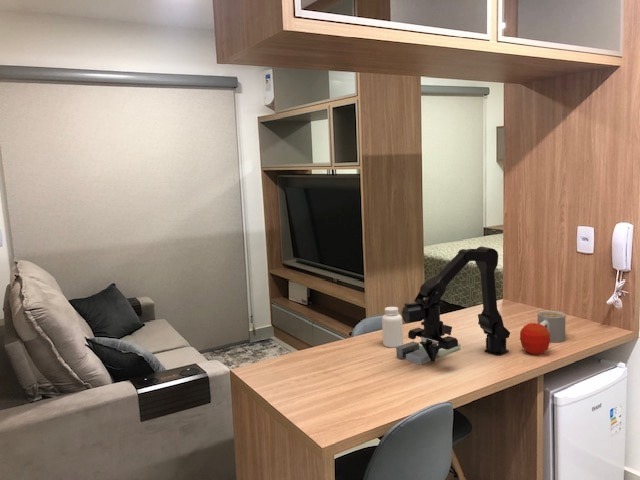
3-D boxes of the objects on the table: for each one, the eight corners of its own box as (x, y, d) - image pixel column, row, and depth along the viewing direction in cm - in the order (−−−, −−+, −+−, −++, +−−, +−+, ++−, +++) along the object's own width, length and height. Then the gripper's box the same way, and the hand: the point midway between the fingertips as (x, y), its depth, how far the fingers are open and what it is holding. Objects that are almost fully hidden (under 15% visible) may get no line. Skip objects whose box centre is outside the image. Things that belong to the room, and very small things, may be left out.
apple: (554, 351, 194) (554, 321, 192) (542, 359, 187) (542, 327, 186) (527, 345, 201) (527, 316, 200) (515, 353, 195) (514, 322, 193)
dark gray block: (419, 353, 200) (419, 343, 199) (402, 359, 195) (402, 349, 194) (413, 351, 202) (413, 341, 202) (396, 357, 197) (396, 347, 196)
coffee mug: (548, 333, 214) (548, 309, 213) (570, 339, 206) (571, 314, 204) (526, 339, 208) (526, 315, 207) (547, 346, 199) (548, 320, 198)
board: (433, 360, 193) (433, 354, 193) (420, 366, 189) (420, 359, 188) (418, 356, 198) (418, 349, 198) (406, 361, 194) (405, 354, 194)
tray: (460, 349, 202) (460, 343, 201) (439, 357, 195) (439, 351, 194) (436, 342, 211) (435, 336, 211) (415, 349, 204) (415, 344, 204)
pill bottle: (380, 346, 209) (378, 310, 207) (387, 340, 216) (385, 304, 214) (399, 349, 206) (397, 311, 204) (405, 342, 213) (404, 306, 211)
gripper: (467, 319, 184) (468, 362, 186) (427, 309, 199) (428, 349, 201) (446, 326, 177) (447, 370, 179) (406, 315, 192) (408, 356, 194)
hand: (433, 361), depth 189 cm, fingers closed
